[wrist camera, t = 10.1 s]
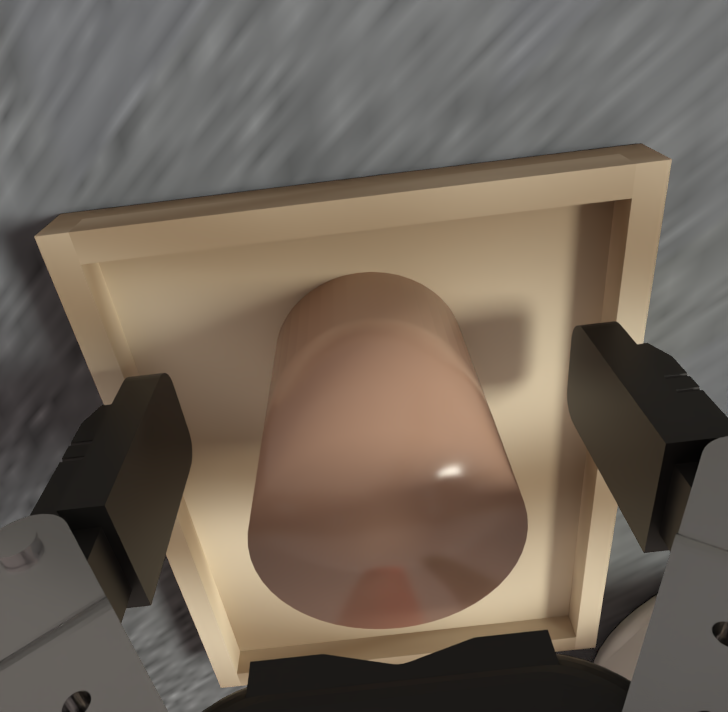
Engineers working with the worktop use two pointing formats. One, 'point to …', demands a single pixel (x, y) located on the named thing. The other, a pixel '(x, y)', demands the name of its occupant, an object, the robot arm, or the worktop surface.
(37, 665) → the robot arm
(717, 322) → the worktop surface
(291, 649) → the parts tray
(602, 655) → the bowl
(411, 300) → the beige cylinder
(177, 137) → the worktop surface
